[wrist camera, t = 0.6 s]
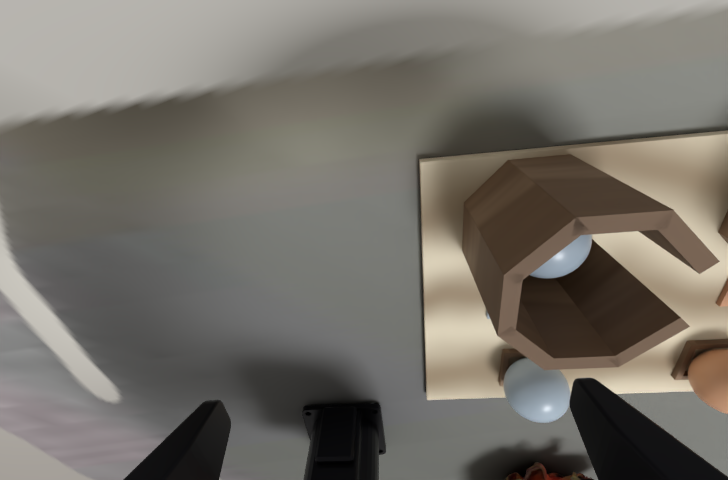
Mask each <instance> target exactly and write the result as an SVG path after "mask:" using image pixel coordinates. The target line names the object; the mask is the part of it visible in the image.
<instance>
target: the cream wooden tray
mask: <svg viewBox="0 0 728 480" xmlns="http://www.w3.org/2000/svg"><path fill="white" fill-rule="evenodd" d="M419 168H420V201H421V234H422V268H423V301H424V334H425V368H426V395H427V400H443V399H473V398H503V397H506V396H505V392H504V386H503V383H504V376H505V373H506V371H507V369H508V368H509V367H510V366H511V365H512V364H513V363H514V362H516V361H517V360H519V359H522V358H528V359H530V360H531V361H533V362H534V363H535V364H537V365H538V366H539V367H541V368H542V369H543V370H560V371H561V372H562V373H563V375H564V376H565V378H566V380H567V382H568V384H569V388H570V393H571V390H572V386H573V382H574V380H575V379H577V378H594V379H596V380H597V381H599V382H600V383H602V384H603V385H604V386H606V387H607V388H608V389H610V390H611V391H612V392H614V393H615V394H623V393H653V392H683V391H694V390H693V389H692V387H691V385H690V383H689V379H688V369H689V365H690V363H691V362H692V360H693V359H694V358H695V357H696V356H698V355H699V354H701V353H703V352H706V351H709V350H714V349H727V350H728V130H726V131H715V132H705V133H694V134H683V135H672V136H662V137H651V138H640V139H629V140H619V141H608V142H597V143H586V144H576V145H565V146H554V147H544V148H533V149H522V150H511V151H501V152H490V153H479V154H468V155H458V156H447V157H436V158H425V159H419ZM591 234H592V244H591V249H590V252H589V254H588V256H587V258H586V259H585V261H584V262H583V263H582V264H581V265H580V266H579V267H578V268H577V269H576V270H574V271H573V272H571V273H569V274H567V275H564V276H561V277H557V278H548V279H546V278H537V277H533V276H530V274H531V273H533V272H534V271H535V270H536V269H538V268H539V267H540V266H542V265H543V264H544V263H546V262H547V261H548V260H549V259H551V258H552V257H553V256H555V255H556V254H557V253H559V252H560V251H561V250H562V249H564V248H565V247H566V246H568V245H569V244H570V243H572V242H573V241H574V240H575V239H577V238H578V237H579V236H581V235H591Z"/></svg>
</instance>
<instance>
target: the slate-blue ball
mask: <svg viewBox="0 0 728 480" xmlns="http://www.w3.org/2000/svg"><path fill="white" fill-rule="evenodd" d="M503 386H504V392H505V396H506V398H507V400H508V402H509V404H510V405H511V407H512V408H513V409H514V410H515V411H516V412H517V413H518V414H520V415H521V416H522V417H524V418H526V419H528V420H530V421H534V422H539V423H547V422H552V421H555V420H557V419H558V418H560V417H561V416H563V414H564V413H565V412H566V411H567V409H568V407H569V404H570V403H569V401H570V395H571V393H570V388H569V384H568V382H567V380H566V378H565V376H564V375H563V373H562V372H561V371H560V370H543V369H542V368H541V367H539V366H538V365H537V364H535V363H534V362H533V361H531V360H530V359H528V358H522V359H519V360H517V361H516V362H514V363H513V364H512V365H511V366H510V367H509V368H508V369H507V371H506V373H505V376H504V383H503Z"/></svg>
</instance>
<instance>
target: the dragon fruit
mask: <svg viewBox="0 0 728 480" xmlns="http://www.w3.org/2000/svg"><path fill="white" fill-rule="evenodd" d="M505 480H593V479H590V478H587V477H585V476H584V475H583V474H581V473H579V474H577V473H575V472H573V474H572V475H570V476H565V477H563V476H562V475H560V474H558V473H550V474H548V475H547V473H546V469H545V468H544V466H543V465H542V464H541V463H538V462H535V463H534V465H533V466H531V467H530V468H528V469H527V471H526V475H525V477H524V478H523V477H522V476H521V475H519V474H518V473H517V472H515V473H512V474H509V475H508V477H507V478H506V479H505Z"/></svg>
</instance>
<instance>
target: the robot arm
mask: <svg viewBox="0 0 728 480" xmlns="http://www.w3.org/2000/svg"><path fill="white" fill-rule="evenodd" d="M569 403H570V409H571V412H572V414H573V417H574V419H575V422H576V425H577V427H578V430H579V432H580V435H581V437H582V440H583V442H584V445H585V447H586V450H587V453H588V455H589V458H590V460H591V463H592V465H593V468H594V470H595V473H596V475H597V477H598V480H728V477H727V476H726V475H724V474H723V473H722V472H720V471H719V470H718V469H716V468H715V467H714V466H712V465H711V464H710V463H708V462H707V461H706V460H704V459H703V458H702V457H700V456H699V455H697V454H696V453H695V452H693V451H692V450H691V449H689V448H688V447H687V446H685V445H684V444H683V443H681V442H680V441H679V440H677V439H676V438H674V437H673V436H672V435H670V434H669V433H668V432H666V431H665V430H664V429H662V428H661V427H660V426H658V425H657V424H656V423H654V422H653V421H652V420H650V419H649V418H647V417H646V416H645V415H643V414H642V413H641V412H639V411H638V410H637V409H635V408H634V407H633V406H631V405H630V404H629V403H627V402H626V401H624V400H623V399H622V398H620V397H619V396H618V395H616V394H615V393H614V392H612V391H611V390H610V389H608V388H607V387H606V386H604V385H603V384H602V383H600V382H599V381H597V380H596V379H594V378H577V379H575V380H574V382H573V386H572V390H571V395H570V401H569ZM302 415H303V418H304V421H305V425H306V428H307V431H308V435H309V438H310V446H309V452H308V457H307V463H306V469H305V474H304V480H379V455H381V454H385V453H386V444H385V436H384V429H383V421H382V413H381V407H380V405H379V404H375V403H372V404H341V405H311V406H305V407H304V408H303V412H302ZM230 428H231V421H230V417H229V415H228V413H227V411H226V409H225V407H224V405H223V403H222V402H221V401H220V400H209V401H205V402H203V403H202V404H201V405H200V406H199V407H198V408H197V409H196V410H195V411H194V412H193V413H192V414H191V415H190V416H189V417H188V418H187V419H185V420H184V421H183V422H182V423H181V424H180V425H179V426H178V427H177V428H176V429H175V430H174V431H173V432H172V433H171V434H170V435H169V436H168V437H167V438H166V439H165V440H164V441H163V442H162V443H161V444H160V445H159V446H158V447H157V448H156V449H155V450H154V451H152V452H151V453H150V454H149V455H148V456H147V457H146V458H145V459H144V460H143V461H142V462H141V463H140V464H139V465H138V466H137V467H136V468H135V469H134V470H133V471H132V472H131V473H130V474H129V475H128V476H127V477H126V478H125V479H124V480H219V477H220V472H221V468H222V464H223V459H224V455H225V451H226V446H227V442H228V437H229V433H230Z"/></svg>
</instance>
